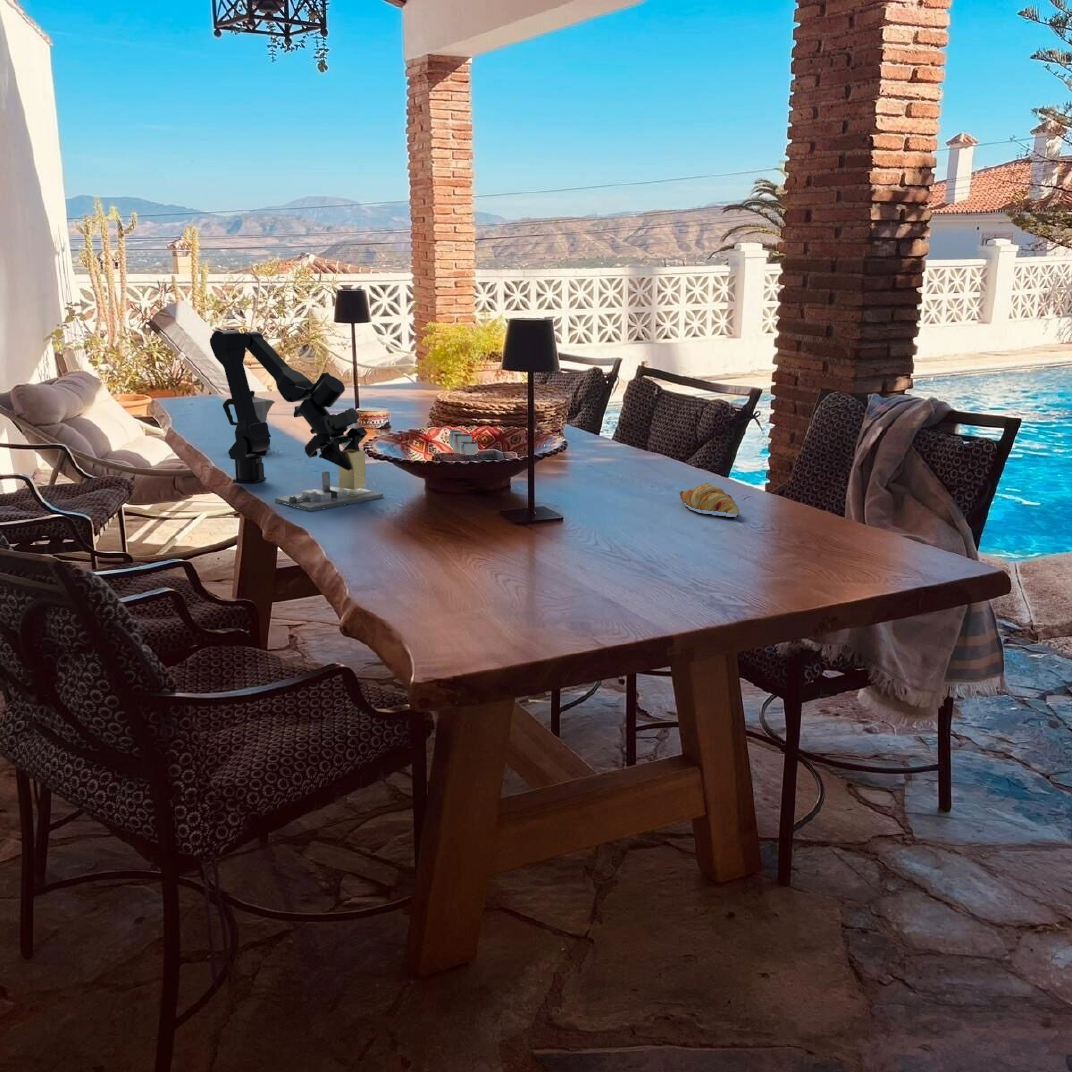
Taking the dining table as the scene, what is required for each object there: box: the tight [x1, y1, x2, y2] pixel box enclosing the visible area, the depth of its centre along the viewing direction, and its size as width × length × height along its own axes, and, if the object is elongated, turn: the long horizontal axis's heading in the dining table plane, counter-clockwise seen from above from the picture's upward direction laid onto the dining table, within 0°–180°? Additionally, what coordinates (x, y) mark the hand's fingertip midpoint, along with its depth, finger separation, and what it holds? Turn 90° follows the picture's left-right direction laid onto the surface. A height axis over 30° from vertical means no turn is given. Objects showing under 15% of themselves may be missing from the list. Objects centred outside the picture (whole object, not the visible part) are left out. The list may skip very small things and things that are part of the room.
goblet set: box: [445, 428, 479, 455], centre depth 279 cm, size 28×6×13 cm, turn 21°
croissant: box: [679, 482, 740, 515], centre depth 248 cm, size 21×10×8 cm, turn 31°
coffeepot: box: [222, 390, 276, 451], centre depth 319 cm, size 15×9×18 cm, turn 103°
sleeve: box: [338, 449, 367, 490], centre depth 257 cm, size 5×5×9 cm
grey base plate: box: [274, 471, 384, 512], centre depth 253 cm, size 14×23×7 cm, turn 138°
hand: (356, 467), depth 256 cm, fingers open, 5 cm apart
